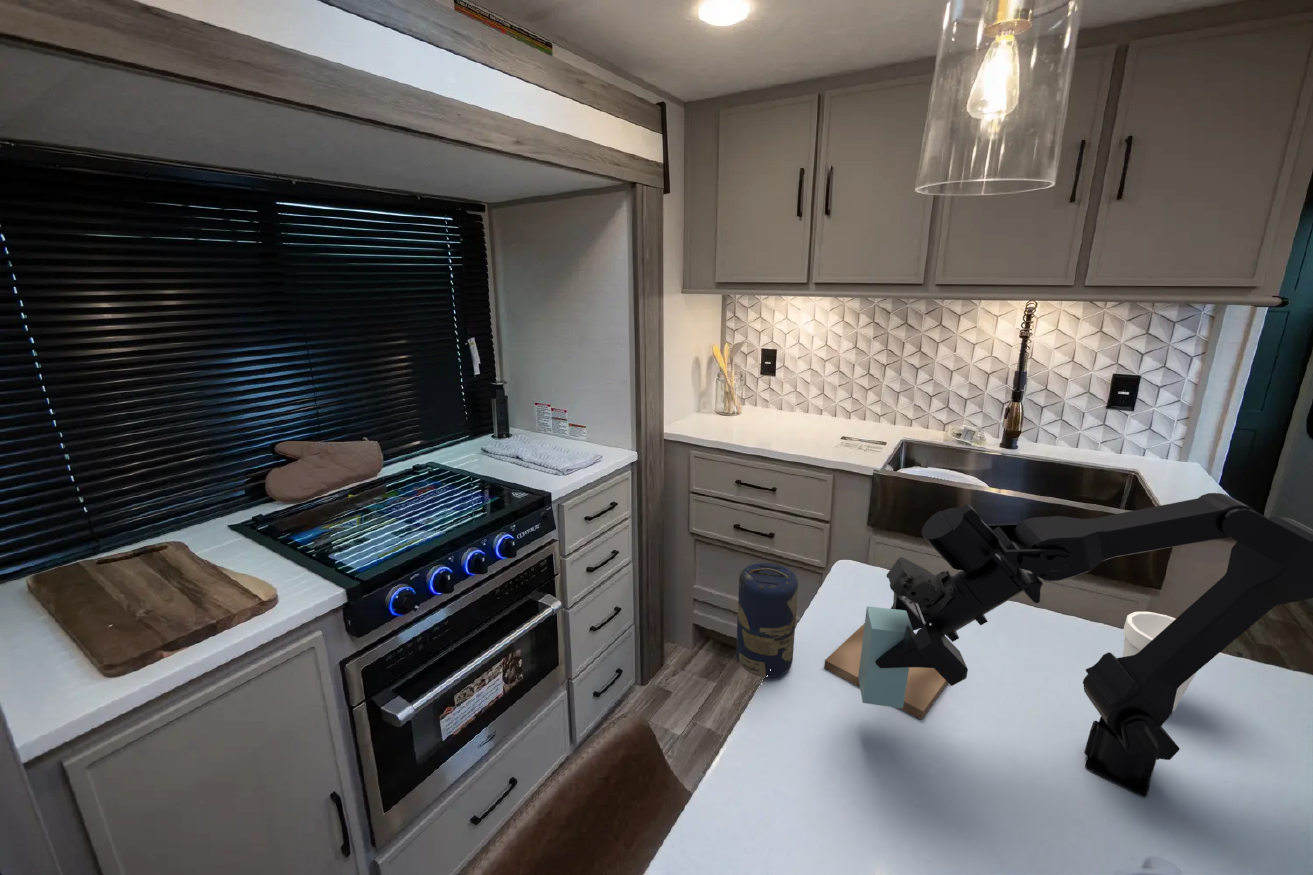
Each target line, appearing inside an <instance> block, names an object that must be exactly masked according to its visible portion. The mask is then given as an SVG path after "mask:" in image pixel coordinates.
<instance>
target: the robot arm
mask: <svg viewBox="0 0 1313 875" xmlns="http://www.w3.org/2000/svg"><path fill="white" fill-rule="evenodd" d="M921 536H922V537H923V539H925V541H926V542H927V543H929V545H930V546H931V547H932V548H933V550H935V551H936V552H937V553H938V554H939V556H941V557H942V559H943V560H944V561H945V562H946V563H947V564H948V565H949V566H950V567H951V568H952V569H953V570H956V571H958V572H956V573H954V574H952V573H951V572H950V571H949V570H946V571H945V570H943V571H940V572H939V573H937V574H933V573H932V572H930V571H928V569H926V568H924V567H922V566H920V565H918V564H917V563H915V562H913V561H910V560H909V559H906V558H905V557H901V556H900V557H898V558H897V560H896V561H895V563H893V566H891V568H890V569H889V571H888V572H887V573H886V578H887V579H888V581H889V588H890V589H891V591H892V592H893V601H892V602H893V604H892V606H891V607H890V609H897V610H905V611H907V614H908V617H909V620H910V623H911V626H912V628H913V631H916V630H917V632H913V631H912V630H911V629H910V628H909V627H908V625H907V626H906V630H905V636H904V639H903V640H902V641H900V642H899V643H898V644H896V645H895V646H894V647H892V648H891V649H890V650H888V651H887V652H885V653H884V654H883V655H882V656H880V657H879V658H878V659H877V660H876V661H875V662H876V665H877V666H878V667H879V668H904V667H920V668H934V669H935V670H936V671H937V672H938V673H939V674H940V675H941V676H942V677H943V678H944V679H945V680H946V681H947V682H948V684H949V685H950V686H951V687H954V686H955V685H957V684H959V683H961V682H963V681H964V680H966V679H967V676H968V671H969V668H968V665H967V664H966V662H965V660H964V657H963V655H962V653H961V651H960V650H959V649H958V648H957V647H956V646H955V644H953V642H956V641H957V640H959V639H960V636H959V635H958V632H957V631H958V630H960V629H962V628H964V627H965V626H967V625H969V624H971V623H972V622H974V621H976V623H978V625H979V626H983V625H984V624H986V623H988V622H989V621H988V619H987V617H986V614H987V613H989V612H991V611H993V610H995V609H996V608H998V607H999V606H1001V605H1003V604H1005V603H1006V602H1008V601H1010V600H1011V599H1013V598H1014V597H1017V596H1018V595H1020V594H1021V593H1023V592H1024V593H1025V595H1026V596H1027V597H1028V598H1029V599H1030V600H1031V601H1032V602H1033V603H1035V604H1039V603H1040V602H1041V588H1042V587H1043V584H1044V583H1043V581H1045V582H1059V581H1064V580H1066V579H1067V580H1068V579H1070V578H1073V577H1077V576H1080V575H1083V574H1087V573H1089V572H1090V571H1092V570H1094V568H1096V567H1097V566H1098V565H1100V564H1101V563H1103V562H1105V561H1106V560H1110V559H1114V558H1117V557H1118V558H1119V557H1123V556H1130V555H1131V556H1132V555H1136V554H1142V553H1147V552H1153V551H1157V550H1158V551H1159V550H1164V549H1170V548H1176V547H1182V546H1188V545H1194V544H1199V543H1205V542H1210V541H1211V542H1212V541H1216V540H1220V539H1232V540H1234V541H1236V542H1235V544H1234V545H1233V546H1232V547H1231V550H1230V554H1229V559H1228V564H1227V567H1226V568H1227V569H1226V572H1225V574H1224V575H1223V576H1222V577H1221V578H1220V579H1219V580H1218V581H1216V582H1215V583H1214V584H1213V585H1212V586H1211V587H1210V588H1209V589H1208V590H1207V591H1205V592H1204V593H1203V594H1202V595H1201V596H1199V597H1198V599H1197V600H1195V601H1194V602H1193V603H1192V604H1191V605H1189V606H1188V608H1186V609H1185V610H1184V611H1182V613H1181V614H1179V616H1177V617H1176V618H1175V620H1174V621H1173V622H1172V623H1171V624H1170V625H1169V626H1167V627H1166V628H1165V629H1164V630H1163V631H1162V632H1161V633H1160V634H1158V635H1157V636H1156V637H1155V638H1154V639H1153V640H1152V641H1151V642H1150V643H1148V644H1147V645H1146V646H1145V647H1144V648H1143V649H1142V650H1141V651H1139V652H1138V653H1137V654H1135V655H1132V656H1126V657H1123V656H1120V657H1117V656H1115V654H1113V653H1112V652H1110V651H1109V652H1107V653H1103V655H1102V656H1101V658H1100V659H1099V660H1098V661H1097V662H1096V663H1094V664H1093V665H1092V666H1090V667H1087V668H1086V669H1085V672H1086V675H1085V677H1083V678H1084V679H1083V680H1082V685H1083V691H1084V693H1085V695H1086V696H1087V698H1088V699H1089V701H1090V702H1091V703H1092V705H1093V707H1094V708H1095V709H1096V711H1097V712H1098V714H1099V715H1100V717H1099V720H1093V722H1092V725H1091V727H1090V730H1089V734H1088V736H1087V741H1086V743H1085V744H1086V745H1085V749H1084V752H1083V753H1084V755H1085V756H1087V757H1086V760H1085V765H1084V768H1086V769H1087V770H1088V771H1091V772H1093V773H1094V774H1097V775H1098V776H1101V777H1103V778H1105V779H1107V780H1109V781H1112V782H1113V783H1115V784H1117V785H1119V786H1120V787H1123V788H1125V789H1127V790H1129V791H1131V792H1132V793H1135V794H1137V795H1139V796H1141V797H1144V798H1147V797H1148V795H1149V789H1150V785H1151V779H1152V775H1153V772H1154V768H1155V766H1156V762H1157V760H1165V761H1170V760H1172V758H1174V756H1175V755H1177V753H1178V752H1179V751H1180V747H1179V746H1178V745H1177V743H1176V742H1175V740H1174V739H1173V738H1172V737H1171V736H1170V734H1168V732H1167V731H1166V729H1165V728H1164V727H1163V725H1164V723H1165V722H1167V720H1168V719H1169V718H1170V716H1172V714H1173V712H1174V711H1173V706H1174V702H1175V697H1176V692H1177V689H1178V688H1179V686H1180V685H1182V684H1183V683H1184V682H1185V681H1186V680H1188V679H1189V678H1190V677H1191V676H1192V675H1193V674H1195V673H1196V672H1197V673H1198V671H1199V670H1200V669H1202V668H1203V667H1204V666H1205V665H1207V664H1208V663H1209V662H1211V660H1213V659H1214V658H1215V657H1216V656H1217V655H1219V654H1220V653H1221V652H1222V651H1223V650H1225V649H1226V648H1227V647H1228V646H1229V645H1231V644H1232V643H1233V642H1234V641H1236V639H1237V638H1238V639H1239V637H1240V636H1241V635H1243V634H1244V633H1245V632H1246V631H1247V630H1249V629H1250V628H1251V627H1252V626H1253V625H1255V623H1257V622H1258V621H1259V620H1260V619H1262V618H1263V617H1264V616H1265V615H1266V614H1268V613H1269V612H1270V611H1271V610H1272V609H1274V608H1275V607H1277V606H1280V605H1285V604H1289V603H1291V604H1292V603H1295V602H1300V601H1305V600H1311V599H1313V528H1310V527H1308V526H1307V525H1305V524H1303V523H1302V522H1301V523H1300V522H1298V520H1295V519H1292V518H1289V517H1285V516H1274V517H1267V516H1265V515H1263V514H1261V513H1260V512H1257V511H1256V510H1255V509H1254V508H1252V507H1251V506H1249V505H1247V504H1245V503H1243V502H1241V501H1240V500H1237V499H1235V498H1233V497H1231V496H1230V495H1228V494H1226V493H1225V494H1224V493H1220V492H1207V493H1204V494H1203V495H1201V496H1199V497H1198V498H1192V499H1189V500H1181V501H1177V502H1172V503H1166V504H1162V505H1156V506H1152V507H1146V508H1141V509H1136V510H1131V511H1126V512H1121V513H1120V512H1119V513H1115V514H1109V515H1105V516H1104V515H1103V516H1099V517H1094V518H1079V517H1070V516H1061V515H1056V516H1055V515H1054V516H1038V517H1036V516H1035V517H1029V518H1026V519H1023V520H1021V521H1020V522H1009V523H1008V522H1003V523H985V522H984V521H983V519H982V518H981V517H980V515H979V514H978V513H977V511H976V510H975V509H974V507H972V505H970V504H969V503H964V504H963V505H962V506H960V507H949V508H946V509H943V510H938V511H937V512H935V513H934V514H933V515H932V516H930V517H929V518H928V520H926V521H925V523H924V524H923V526H922V528H921ZM998 553H1001V554H1002V556H1000V555H999V554H998ZM1026 571H1028V572H1026ZM1030 572H1031V573H1030ZM1041 579H1042V580H1043V581H1042V580H1041ZM1197 673H1196V674H1197ZM1196 674H1195V675H1196ZM1172 711H1173V712H1172Z"/></svg>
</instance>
